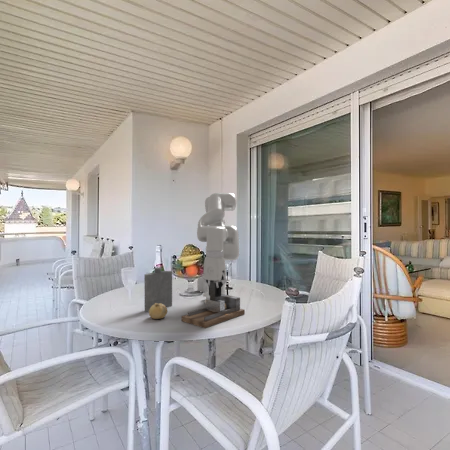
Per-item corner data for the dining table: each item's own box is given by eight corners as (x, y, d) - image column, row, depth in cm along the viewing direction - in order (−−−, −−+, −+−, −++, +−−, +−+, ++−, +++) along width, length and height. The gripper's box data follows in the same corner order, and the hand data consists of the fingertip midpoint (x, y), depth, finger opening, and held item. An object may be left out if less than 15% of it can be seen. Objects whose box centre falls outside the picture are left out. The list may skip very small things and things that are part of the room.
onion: (147, 316, 143) (147, 301, 143) (164, 314, 147) (164, 299, 147) (150, 321, 136) (150, 305, 136) (169, 319, 139) (169, 303, 139)
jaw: (205, 309, 144) (205, 281, 144) (210, 307, 147) (210, 280, 147) (220, 312, 139) (219, 283, 139) (224, 311, 141) (224, 282, 141)
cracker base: (181, 320, 137) (181, 303, 137) (221, 308, 157) (221, 293, 157) (204, 328, 128) (204, 309, 128) (244, 313, 148) (244, 297, 148)
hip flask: (147, 312, 150) (147, 269, 150) (142, 310, 153) (142, 269, 153) (173, 305, 162) (173, 266, 162) (168, 304, 165) (168, 265, 165)
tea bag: (203, 292, 193) (203, 275, 193) (197, 290, 198) (197, 274, 198) (208, 291, 195) (208, 275, 195) (202, 289, 200) (202, 273, 200)
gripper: (196, 253, 145) (196, 294, 145) (223, 256, 134) (223, 300, 134) (207, 252, 151) (207, 291, 151) (234, 255, 140) (234, 297, 140)
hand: (215, 295), depth 143 cm, fingers closed on jaw, 3 cm apart
